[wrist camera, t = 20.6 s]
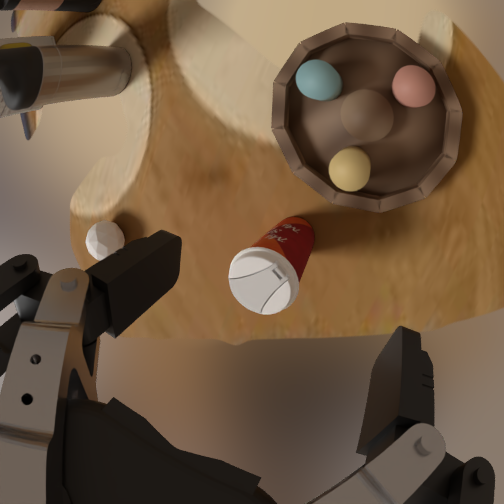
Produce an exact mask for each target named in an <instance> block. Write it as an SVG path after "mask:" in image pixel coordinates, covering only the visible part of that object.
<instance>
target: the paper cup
mask: <svg viewBox="0 0 504 504" xmlns="http://www.w3.org/2000/svg"><path fill="white" fill-rule="evenodd" d="M314 240H315V235H314V231H313V229H312V227H311V225H310V224H309V223H308V222H307V221H305V220H304V219H302V218H299V217H289V218H286V219H284V220H282V221H281V222H280V223H278V224H277V225H276V226H275V227H273V228H272V229H271V230H270V231H269V232H267V233H266V234H265V235H264V236H263V237H261V238H260V239H259V240H258V241H257V242H256V243H254V244H253V245H252V246H251V247H250V248H247V249H245V250H242V251H241V252H239V253H238V254H237V255H236V256H235V257H234V259H233V260H232V263H231V265H230V272H229V283H230V288H231V291H232V293H233V295H234V296H235V298H236V299H237V300H238V301H239V302H240V303H241V304H242V305H243V306H244V307H246V308H247V309H249V310H251V311H254V312H257V313H259V314H274V313H277V312H279V311H281V310H283V309H285V308H287V307H289V306H290V305H291V304H292V303H293V302H294V300H295V299H296V297H297V294H298V290H299V282H300V279H301V277H302V274H303V272H304V269H305V266H306V264H307V261H308V259H309V256H310V253H311V251H312V248H313V244H314Z"/></svg>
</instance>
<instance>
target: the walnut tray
mask: <svg viewBox="0 0 504 504" xmlns="http://www.w3.org/2000/svg"><path fill="white" fill-rule="evenodd" d="M310 60H322V61H325V62H327V63H329V64H330V65H331V66H332V67H333V68H334V69H335V70H336V71H337V72H338V73H339V75H340V76H341V78H342V81H343V89H342V92H341V94H340V95H339V96H338V97H337V98H336V99H334V100H332V101H319V100H316V99H312V98H309V97H307V96H305V95H304V94H303V93H302V92H301V91H300V90H299V88H298V86H297V83H296V74H297V71H298V69H299V68H300V66H301V65H302V64H304V63H305V62H307V61H310ZM439 62H440V61H439V60H438V59H437V58H436V57H434V56H433V55H432V54H431V53H429V52H428V51H427V50H425V49H424V48H423V47H421V46H420V45H419V44H417V43H416V42H415V41H413V40H412V39H411V38H409V37H408V36H406V35H405V34H403V33H402V32H401V31H399V30H397V31H396V29H393V28H387V27H381V26H374V25H366V24H357V23H345V24H344V23H342V24H339V25H337V26H335V27H332V28H330V29H328V30H325V31H323V32H321V33H319V34H316V35H314V36H312V37H310V38H308V39H305V40H303V41H301V44H300V43H299V44H298V45H297V47H296V48H295V50H294V51H293V53H292V54H291V56H290V57H289V59H288V60H287V62H286V63H285V65H284V66H283V68H282V69H281V71H280V72H279V74H278V75H277V77H276V78H275V80H274V81H275V82H273V103H272V126H271V128H273V129H272V131H273V133H274V135H275V138H276V140H277V142H278V144H279V146H280V148H281V150H282V152H283V154H284V156H285V158H286V160H287V162H288V164H289V166H290V169H291V171H292V172H294V173H293V174H294V175H296V176H297V177H298V178H300V179H301V180H302V181H304V182H305V183H306V184H308V185H309V186H310V187H311V188H313V189H314V190H315V191H317V192H318V193H319V194H320V195H322V196H323V197H324V198H325V199H327V200H328V201H329V202H330V203H332V202H333V204H336V205H341V206H347V207H352V208H357V209H362V210H367V211H372V212H377V213H379V212H381V213H382V212H385V211H388V210H391V209H395V208H398V207H401V206H404V205H407V204H410V203H413V202H416V201H419V200H422V199H425V197H427V196H428V195H429V194H430V193H431V192H432V190H433V189H434V188H435V187H436V186H437V184H438V183H439V182H440V181H441V180H442V179H443V177H444V176H445V175H446V174H447V172H448V171H449V170H450V169H451V168H452V166H453V165H454V164H455V163H456V161H457V155H458V148H459V141H460V133H461V124H462V114H463V112H461V111H462V108H461V105H460V103H459V100H458V98H457V96H456V93H455V91H454V89H453V86H452V84H451V82H450V80H449V78H448V75H447V73H446V71H445V69H444V67H443V65H442V63H439ZM408 65H415V66H419V67H421V68H423V69H424V70H426V71H427V72H428V73H429V74H430V75H431V77H432V79H433V81H434V83H435V95H434V98H433V99H432V101H431V102H430V103H429V104H427V105H425V106H421V107H417V108H408V107H405V106H403V105H401V104H400V103H399V102H398V101H397V100H396V99H395V98H394V96H393V93H392V87H391V86H392V82H393V79H394V77H395V75H396V73H397V72H398V70H399V69H401V68H402V67H404V66H408ZM348 146H356V147H359V148H361V149H363V150H364V151H365V152H366V153H367V154H368V156H369V158H370V161H371V170H370V176H369V180H368V182H367V183H366V185H365V186H364V187H362V188H361V189H359V190H357V191H345V190H342V189H340V188H338V187H337V186H336V185H335V184H334V183H333V181H332V180H331V178H330V175H329V165H330V162H331V160H332V158H333V157H334V156H335V155H336V154H337V153H338V152H339V151H340V150H342V149H343V148H345V147H348ZM455 160H456V161H455ZM424 196H425V197H424Z"/></svg>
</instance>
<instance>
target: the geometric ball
mask: <svg viewBox="0 0 504 504" xmlns="http://www.w3.org/2000/svg"><path fill="white" fill-rule="evenodd" d="M124 242H125V239H124V235H123V232H122V231H121V229H120V228H119V227H118V225H117V224H116V223H113V222H110V221H107V220H103V221H101V222H98V223H96V224H94V225H93V226H92V227H91V229H90V230H89V231H88V234H87V238H86V245H87V248H88V251H89V253H90V254H91V255H92V256H93V257H94V258H96V259H97V260H102V259H104V258H106V257H107V256H109V255H110V254H112V253H113V254H114V252H115V251H117V250H118V249H120V248H121V249H122V247H123V246H124Z"/></svg>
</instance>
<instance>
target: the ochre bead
mask: <svg viewBox="0 0 504 504" xmlns="http://www.w3.org/2000/svg"><path fill="white" fill-rule="evenodd" d="M370 170H371V161H370V158H369V156H368V154H367V153H366V152H365V151H364V150H363V149H361V148H359V147H356V146H348V147H345V148H343V149H342V150H340V151H339V152H338V153H337V154H336V155H335V156H334V157H333V158H332V160H331V162H330V165H329V175H330V178H331V180H332V181H333V183H334V184H335V185H336V186H337V187H338V188H340V189H342V190H345V191H357V190H359V189H361V188H362V187H364V186H365V185H366V183H367V182H368V180H369V176H370Z"/></svg>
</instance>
